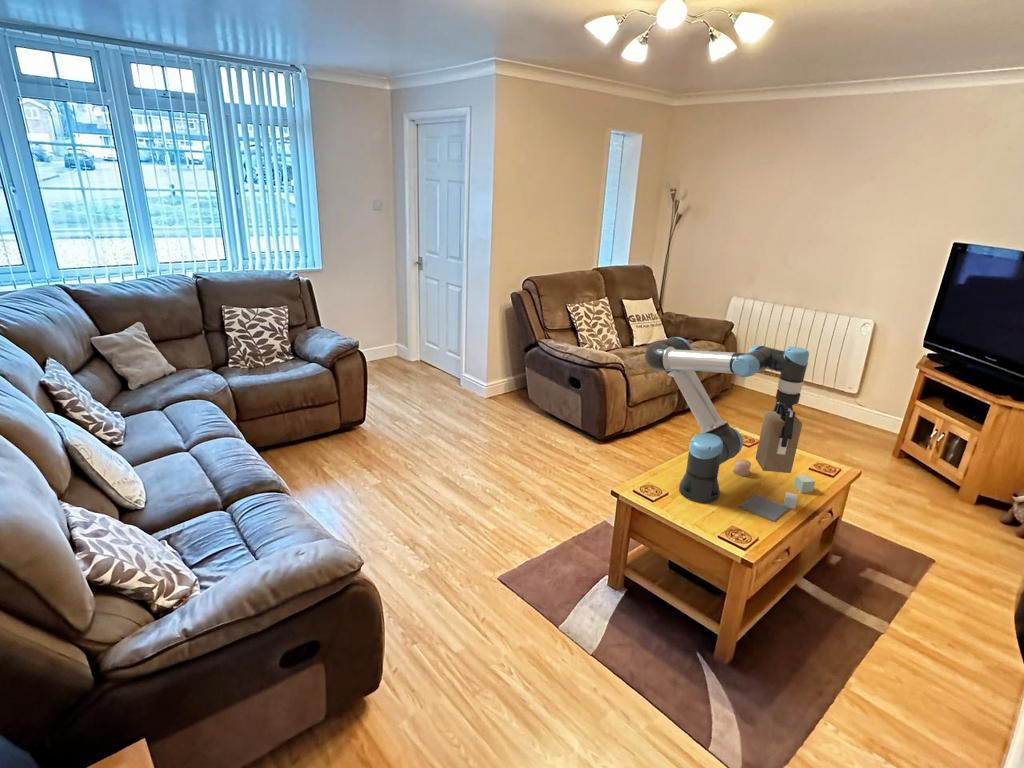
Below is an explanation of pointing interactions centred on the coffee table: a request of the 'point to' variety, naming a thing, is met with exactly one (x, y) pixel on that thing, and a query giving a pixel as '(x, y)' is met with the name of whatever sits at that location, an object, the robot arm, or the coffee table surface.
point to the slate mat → (764, 507)
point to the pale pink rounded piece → (742, 467)
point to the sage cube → (804, 484)
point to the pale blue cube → (790, 500)
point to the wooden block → (776, 444)
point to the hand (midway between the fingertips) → (776, 447)
